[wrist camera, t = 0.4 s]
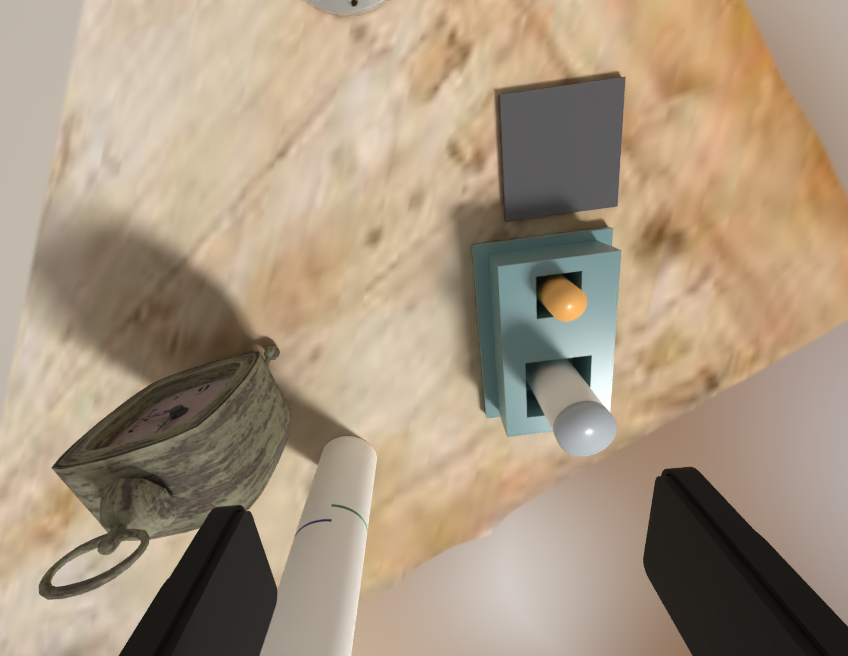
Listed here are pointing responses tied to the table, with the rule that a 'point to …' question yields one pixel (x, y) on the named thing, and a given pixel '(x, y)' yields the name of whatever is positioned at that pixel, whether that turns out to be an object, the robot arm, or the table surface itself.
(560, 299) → the orange egg shape
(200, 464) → the tabletop clock
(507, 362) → the teal hollow block
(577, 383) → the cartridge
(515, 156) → the mat
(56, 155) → the table surface
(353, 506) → the cylindrical container
